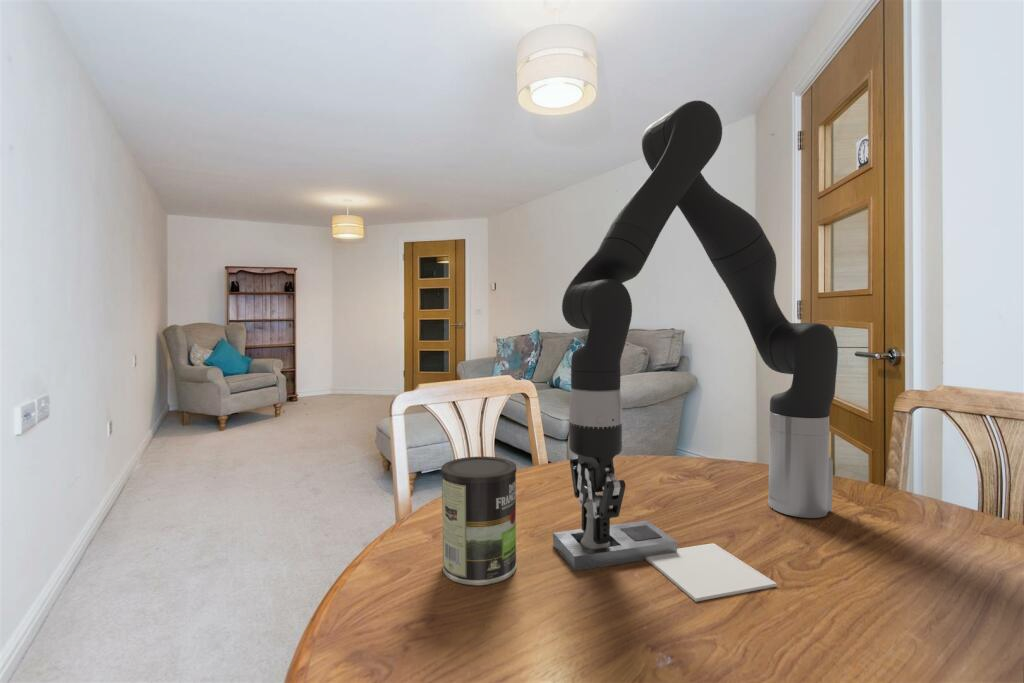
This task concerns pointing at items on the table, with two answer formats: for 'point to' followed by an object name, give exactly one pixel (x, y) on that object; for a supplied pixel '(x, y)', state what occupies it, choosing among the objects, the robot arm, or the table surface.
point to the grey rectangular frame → (615, 545)
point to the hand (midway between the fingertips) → (595, 536)
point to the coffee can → (479, 520)
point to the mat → (709, 572)
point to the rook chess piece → (590, 529)
